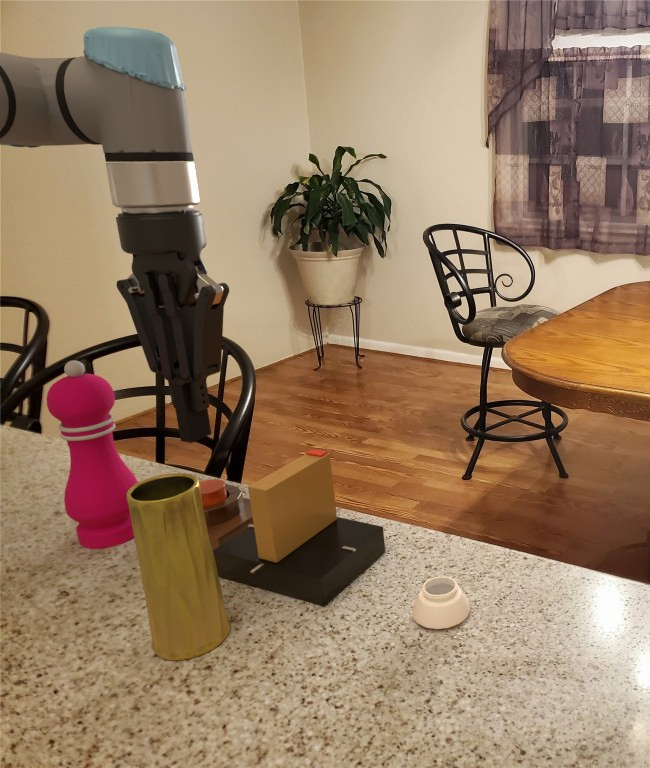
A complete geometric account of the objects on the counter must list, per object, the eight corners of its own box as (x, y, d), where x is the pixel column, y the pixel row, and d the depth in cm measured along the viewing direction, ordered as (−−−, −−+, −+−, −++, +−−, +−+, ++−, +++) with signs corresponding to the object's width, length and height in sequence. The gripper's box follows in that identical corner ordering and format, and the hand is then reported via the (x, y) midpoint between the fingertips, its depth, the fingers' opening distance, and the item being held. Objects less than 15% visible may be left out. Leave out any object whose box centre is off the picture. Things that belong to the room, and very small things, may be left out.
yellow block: (276, 563, 64) (265, 488, 62) (258, 558, 65) (247, 484, 62) (337, 519, 72) (329, 450, 69) (320, 515, 73) (312, 447, 70)
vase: (181, 672, 55) (148, 512, 50) (137, 646, 58) (103, 493, 53) (245, 629, 60) (220, 480, 55) (202, 607, 63) (175, 464, 58)
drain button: (184, 505, 74) (181, 490, 74) (210, 491, 78) (208, 476, 77) (209, 510, 73) (206, 495, 72) (234, 496, 76) (232, 481, 76)
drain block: (152, 538, 75) (145, 505, 74) (209, 506, 82) (204, 475, 81) (221, 556, 71) (215, 522, 70) (275, 521, 78) (270, 489, 77)
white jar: (427, 640, 58) (479, 619, 60) (425, 610, 57) (478, 591, 59) (404, 609, 62) (454, 591, 64) (402, 581, 61) (452, 564, 63)
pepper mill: (58, 544, 74) (13, 367, 68) (117, 514, 80) (80, 349, 74) (106, 557, 71) (63, 373, 65) (163, 524, 78) (128, 354, 72)
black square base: (313, 617, 61) (309, 587, 60) (203, 586, 66) (198, 557, 65) (394, 544, 72) (392, 518, 71) (295, 522, 78) (292, 497, 77)
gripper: (240, 208, 67) (269, 433, 74) (144, 206, 72) (180, 418, 79) (176, 213, 60) (215, 460, 67) (76, 210, 65) (122, 441, 72)
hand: (196, 437), depth 73 cm, fingers closed
